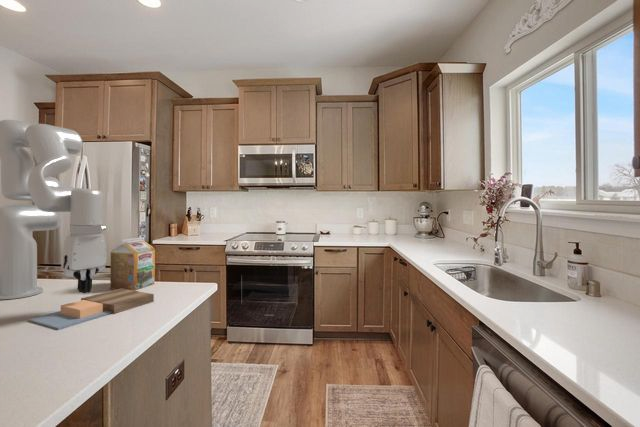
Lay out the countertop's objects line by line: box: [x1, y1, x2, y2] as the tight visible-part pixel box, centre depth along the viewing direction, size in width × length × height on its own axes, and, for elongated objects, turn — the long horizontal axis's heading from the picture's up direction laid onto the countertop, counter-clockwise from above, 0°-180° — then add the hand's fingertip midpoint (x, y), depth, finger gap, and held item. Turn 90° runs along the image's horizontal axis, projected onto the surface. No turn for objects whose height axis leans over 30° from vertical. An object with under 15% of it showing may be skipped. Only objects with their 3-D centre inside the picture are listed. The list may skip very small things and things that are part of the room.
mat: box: [27, 310, 113, 331], centre depth 86 cm, size 14×13×1 cm
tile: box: [60, 299, 103, 318], centre depth 89 cm, size 9×6×2 cm, turn 68°
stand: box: [80, 288, 155, 315], centre depth 99 cm, size 16×13×2 cm
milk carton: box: [109, 236, 156, 291], centre depth 120 cm, size 11×11×19 cm
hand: (84, 291), depth 90 cm, fingers closed
